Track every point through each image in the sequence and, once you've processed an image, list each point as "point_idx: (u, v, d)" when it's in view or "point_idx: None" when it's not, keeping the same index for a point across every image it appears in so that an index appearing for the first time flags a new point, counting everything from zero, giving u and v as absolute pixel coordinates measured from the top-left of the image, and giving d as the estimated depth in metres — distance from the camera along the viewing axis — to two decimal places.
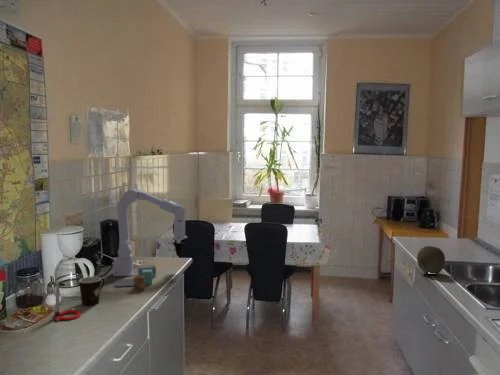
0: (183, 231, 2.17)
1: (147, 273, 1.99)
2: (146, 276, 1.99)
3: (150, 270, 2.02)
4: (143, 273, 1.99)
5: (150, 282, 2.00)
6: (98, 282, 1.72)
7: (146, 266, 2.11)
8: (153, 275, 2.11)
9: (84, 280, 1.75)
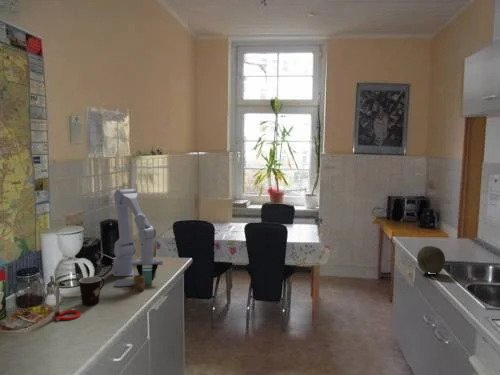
0: (143, 256, 1.98)
1: (147, 273, 1.99)
2: (146, 276, 1.99)
3: (150, 270, 2.02)
4: (143, 273, 1.99)
5: (150, 282, 2.00)
6: (98, 282, 1.72)
7: (146, 266, 2.11)
8: None
9: (84, 280, 1.75)
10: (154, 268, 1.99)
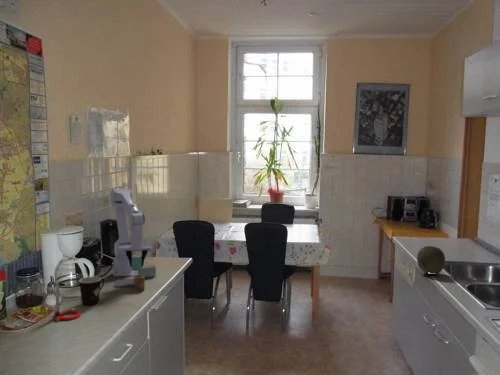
0: (132, 242, 1.97)
1: (137, 259, 1.98)
2: (136, 262, 1.98)
3: (140, 256, 2.01)
4: (133, 259, 1.97)
5: (140, 268, 1.98)
6: (98, 282, 1.72)
7: (146, 266, 2.11)
8: (153, 275, 2.11)
9: (84, 280, 1.75)
10: (144, 254, 1.98)
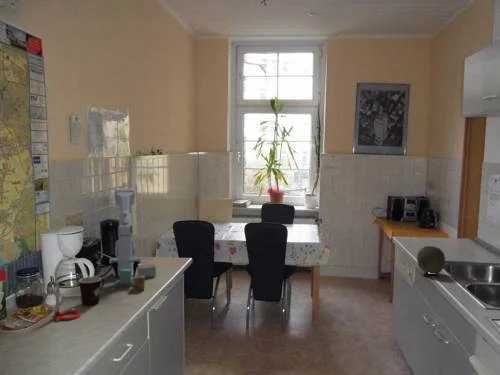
0: (121, 253, 1.96)
1: (125, 272, 1.97)
2: (124, 275, 1.97)
3: (129, 269, 2.00)
4: (121, 272, 1.97)
5: (128, 281, 1.98)
6: (98, 282, 1.72)
7: (146, 266, 2.11)
8: (153, 275, 2.11)
9: (84, 280, 1.75)
10: (135, 265, 1.98)
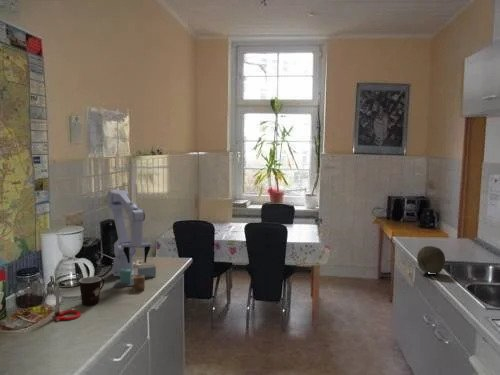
0: (132, 238, 2.00)
1: (125, 272, 1.97)
2: (124, 275, 1.97)
3: (129, 269, 2.00)
4: (121, 272, 1.97)
5: (128, 281, 1.98)
6: (98, 282, 1.72)
7: (146, 266, 2.11)
8: (153, 275, 2.11)
9: (84, 280, 1.75)
10: (146, 250, 2.01)
